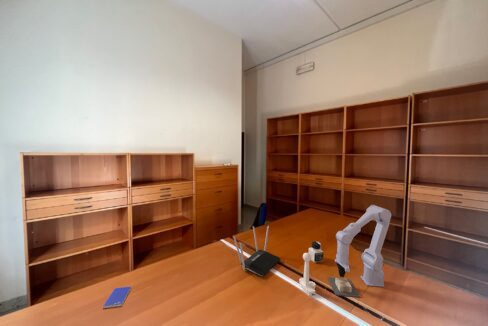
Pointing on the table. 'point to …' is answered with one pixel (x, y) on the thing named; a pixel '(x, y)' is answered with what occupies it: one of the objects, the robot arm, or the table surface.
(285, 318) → the table surface
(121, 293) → the hard drive
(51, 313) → the table surface
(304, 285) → the joystick
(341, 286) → the slab
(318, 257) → the medicine bottle
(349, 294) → the mat
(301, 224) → the table surface
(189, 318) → the table surface
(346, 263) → the robot arm
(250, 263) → the wireless router
